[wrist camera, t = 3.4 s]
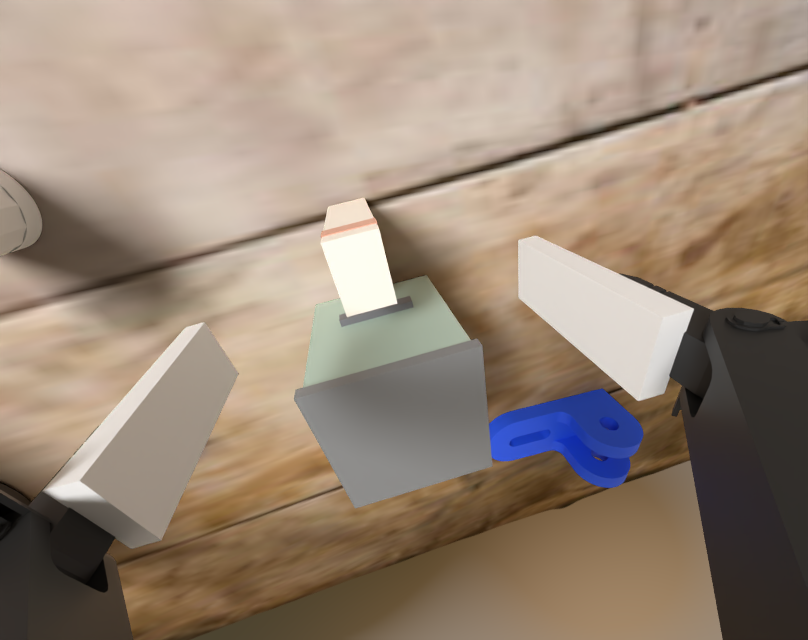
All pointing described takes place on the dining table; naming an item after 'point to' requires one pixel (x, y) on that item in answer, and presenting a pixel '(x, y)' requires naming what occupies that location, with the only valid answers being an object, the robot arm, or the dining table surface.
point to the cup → (17, 216)
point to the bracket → (572, 435)
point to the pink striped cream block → (357, 257)
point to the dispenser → (396, 394)
